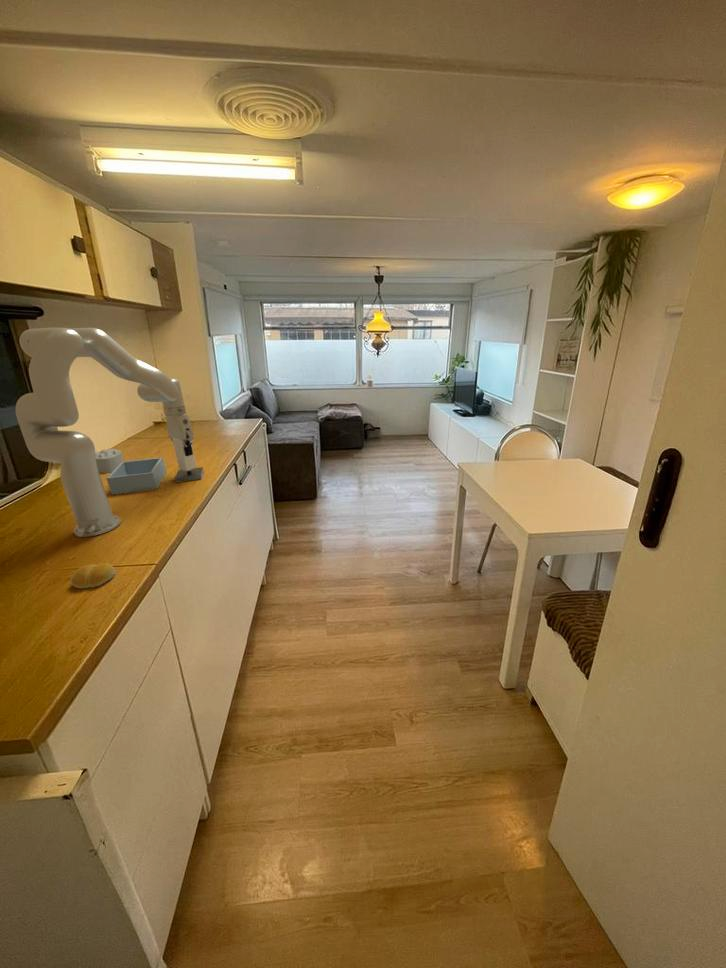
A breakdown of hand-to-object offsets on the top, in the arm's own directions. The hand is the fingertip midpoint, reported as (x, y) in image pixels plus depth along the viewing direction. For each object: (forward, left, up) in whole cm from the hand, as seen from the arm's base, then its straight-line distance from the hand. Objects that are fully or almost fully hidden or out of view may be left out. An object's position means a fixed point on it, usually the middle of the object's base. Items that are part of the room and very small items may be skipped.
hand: (184, 454), depth 156 cm
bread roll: (-69, +14, -11) cm, 71 cm away
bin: (0, +19, -10) cm, 21 cm away
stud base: (0, 0, -10) cm, 10 cm away
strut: (0, 0, -6) cm, 6 cm away
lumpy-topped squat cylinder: (+24, +37, -11) cm, 45 cm away
